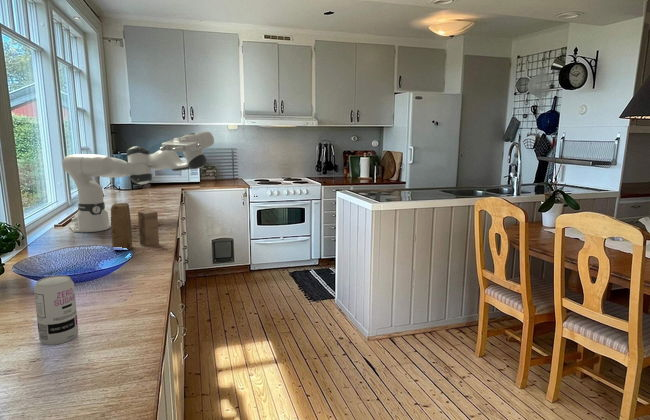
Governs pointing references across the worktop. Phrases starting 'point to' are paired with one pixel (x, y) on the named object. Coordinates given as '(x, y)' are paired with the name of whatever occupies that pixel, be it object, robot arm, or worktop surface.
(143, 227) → the walnut block
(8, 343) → the worktop surface
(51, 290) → the supplement can
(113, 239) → the block
